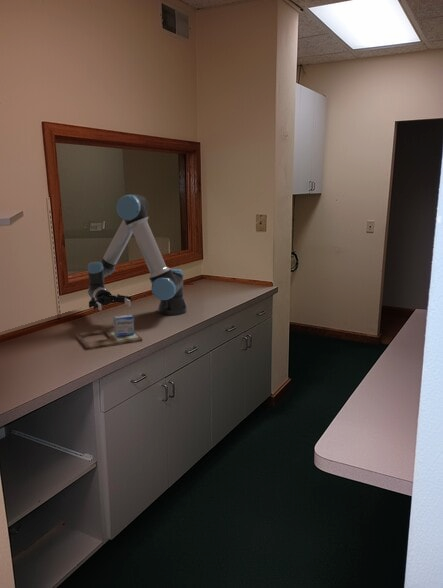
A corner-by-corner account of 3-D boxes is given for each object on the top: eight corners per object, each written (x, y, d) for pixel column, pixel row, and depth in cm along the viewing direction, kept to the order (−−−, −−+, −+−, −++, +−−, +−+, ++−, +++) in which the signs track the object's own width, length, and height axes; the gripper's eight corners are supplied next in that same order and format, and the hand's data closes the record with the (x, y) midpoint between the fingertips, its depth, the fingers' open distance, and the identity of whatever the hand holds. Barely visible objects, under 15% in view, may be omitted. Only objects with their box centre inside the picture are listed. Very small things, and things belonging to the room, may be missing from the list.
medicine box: (116, 337, 204) (116, 318, 202) (114, 334, 208) (113, 315, 206) (134, 335, 208) (133, 316, 206) (131, 332, 212) (130, 313, 210)
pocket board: (127, 328, 221) (127, 326, 221) (142, 340, 204) (142, 338, 204) (75, 335, 209) (75, 333, 209) (86, 349, 193) (86, 347, 192)
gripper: (127, 300, 238) (141, 309, 220) (77, 307, 227) (88, 317, 209) (126, 286, 237) (141, 294, 219) (76, 292, 225) (87, 301, 207)
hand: (115, 305), depth 214 cm, fingers open, 13 cm apart
